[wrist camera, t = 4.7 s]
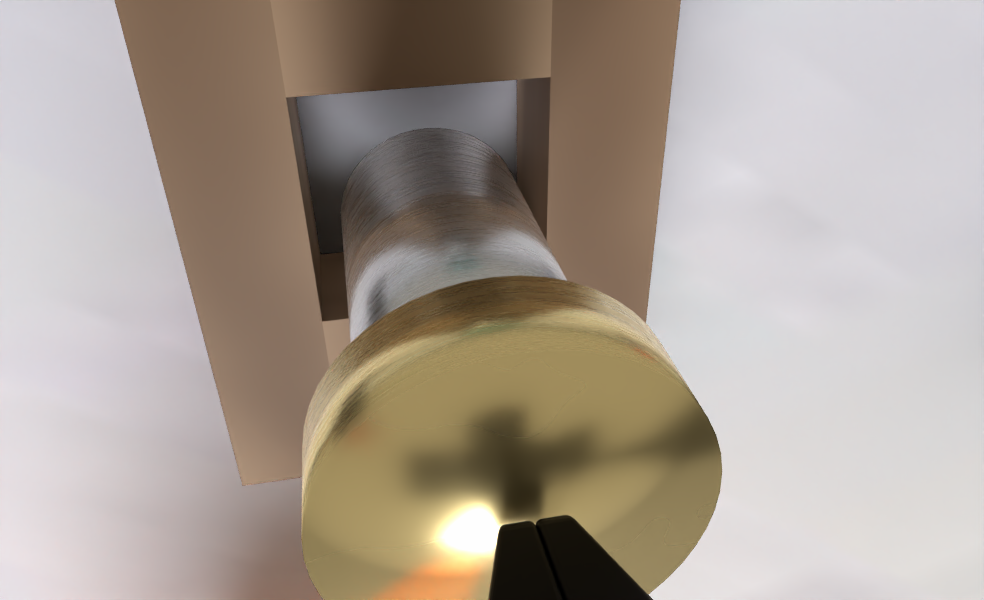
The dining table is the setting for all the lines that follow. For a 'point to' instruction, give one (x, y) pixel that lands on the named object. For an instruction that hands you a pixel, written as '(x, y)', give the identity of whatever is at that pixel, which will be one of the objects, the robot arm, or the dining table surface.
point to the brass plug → (485, 394)
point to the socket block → (370, 67)
